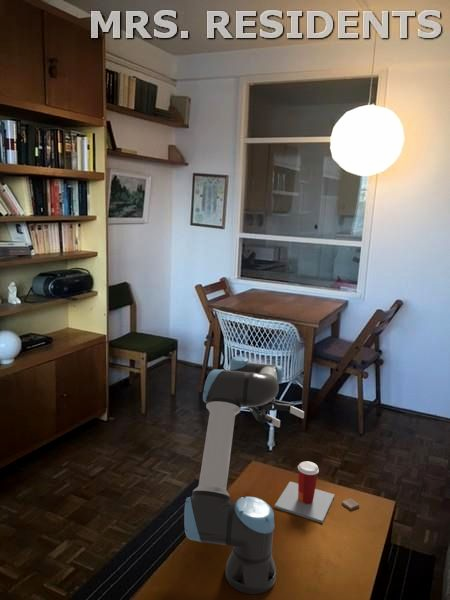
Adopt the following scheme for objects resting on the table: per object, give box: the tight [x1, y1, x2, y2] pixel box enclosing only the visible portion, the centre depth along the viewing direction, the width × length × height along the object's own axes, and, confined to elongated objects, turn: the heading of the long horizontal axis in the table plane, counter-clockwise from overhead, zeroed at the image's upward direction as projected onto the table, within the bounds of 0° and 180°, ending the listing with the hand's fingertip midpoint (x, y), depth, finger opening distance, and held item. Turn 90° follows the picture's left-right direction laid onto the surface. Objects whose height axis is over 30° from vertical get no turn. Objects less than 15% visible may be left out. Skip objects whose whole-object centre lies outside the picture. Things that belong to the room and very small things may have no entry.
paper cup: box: [297, 460, 320, 504], centre depth 183 cm, size 8×8×14 cm
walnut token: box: [341, 497, 360, 511], centre depth 184 cm, size 4×4×2 cm
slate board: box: [273, 480, 335, 524], centre depth 184 cm, size 18×18×1 cm
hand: (291, 419), depth 186 cm, fingers open, 13 cm apart
